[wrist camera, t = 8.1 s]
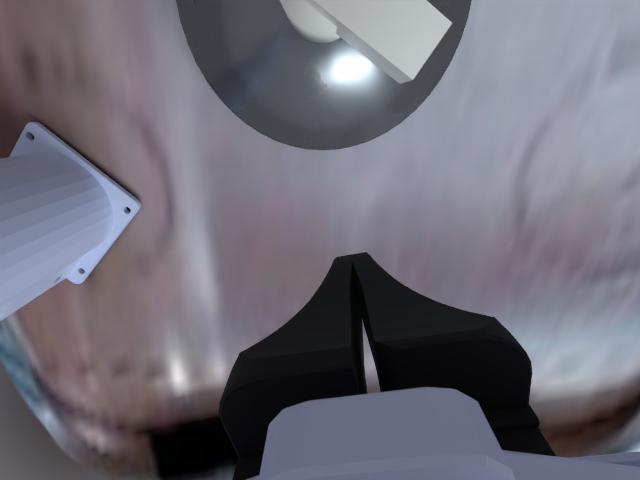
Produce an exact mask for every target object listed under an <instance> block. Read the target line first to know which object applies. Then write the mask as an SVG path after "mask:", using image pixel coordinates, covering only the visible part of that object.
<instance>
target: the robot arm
mask: <svg viewBox="0 0 640 480" xmlns="http://www.w3.org/2000/svg"><path fill="white" fill-rule="evenodd" d="M31 133H32V134H33V135H34V139H33V137H32V135H31ZM127 207H128V208H130V210H131V212H129V211H128V210H127ZM140 207H141V204H140V202H139V201H138V199H136V198H135V197H134V196H133V195H131V194H130V193H129V192H127V191H126V190H125V189H124V188H122V187H121V186H120V185H118V184H117V183H116V182H115V181H113V180H112V179H111V178H109V177H108V176H107V175H106V174H104V173H103V172H102V171H101V170H99V169H98V168H97V167H95V166H94V165H93V164H92V163H90V162H89V161H88V160H86V159H85V158H84V157H83V156H81V155H80V154H79V153H78V152H76V151H75V150H74V149H72V148H71V147H70V146H69V145H67V144H66V143H65V142H63V141H62V140H61V139H60V138H58V137H57V136H56V135H54V134H53V133H52V132H51V131H49V130H48V129H47V128H46V127H44V126H43V125H42V124H40V123H38V122H29V123H27V124H26V126H25V128H24V130H23V132H22V133H21V135H20V137H19V139H18V141H17V143H16V145H15V147H14V148H13V150H12V152H11V154H10V156H9V157H7V158H1V159H0V321H1V320H3V319H4V318H6V317H7V316H9V315H10V314H12V313H13V312H15V311H16V310H18V309H19V308H21V307H22V306H24V305H25V304H27V303H29V302H30V301H32V300H33V299H35V298H36V297H38V296H39V295H41V294H42V293H44V292H45V291H47V290H48V289H50V288H51V287H53V286H54V285H56V284H57V283H59V282H60V281H62V280H63V279H65V278H67V279H68V280H70V281H72V282H73V283H75V284H80V283H82V282H83V281H84V280H85V279H86V278H87V277H88V275H89V274H90V273H91V271H92V270H93V269H94V267H95V266H96V265H97V264H98V262H99V261H100V260H101V258H102V257H103V256H104V254H105V253H106V252H107V251H108V249H109V248H110V247H111V245H112V244H113V243H114V242H115V240H116V239H117V238H118V236H119V235H120V234H121V232H122V231H123V230H124V229H125V227H126V226H127V225H128V223H129V222H130V221H131V219H132V218H133V217H134V216H135V214H136V213H137V212H138V210H139V209H140ZM82 269H83V270H84V271H83V270H82ZM362 320H363V323H364V327H365V330H366V334H367V337H368V341H369V344H370V348H371V352H372V355H373V359H374V362H375V366H376V370H377V374H378V380H379V385H380V391H381V392H377V393H369V394H368V393H367V386H366V379H365V369H364V351H363V329H362ZM531 378H532V366H531V361H530V359H529V357H528V355H527V353H526V351H525V350H524V349H523V348H522V346H521V345H520V344H519V343H518V341H517V340H516V339H515V338H514V337H513V336H512V335H511V333H510V332H509V331H508V330H507V329H506V328H505V327H504V326H503V325H502V324H501V323H500V322H499V321H498V320H497V319H496V318H495V317H490V316H486V315H481V314H477V313H472V312H468V311H464V310H460V309H457V308H454V307H451V306H448V305H445V304H442V303H439V302H437V301H434V300H432V299H430V298H427V297H425V296H423V295H421V294H419V293H417V292H415V291H413V290H411V289H410V288H408V287H406V286H404V285H403V284H401V283H400V282H399V281H397V280H396V279H394V278H393V277H392V276H391V275H389V274H388V273H387V272H386V271H385V270H384V269H383V268H381V267H380V266H379V265H378V264H377V263H376V262H375V261H374V260H373V258H372V257H371V256H370V255H369V254H368V253H367V252H365V253H359V254H353V255H347V256H341V257H336V258H335V259H334V261H333V264H332V266H331V268H330V270H329V272H328V274H327V275H326V277H325V279H324V281H323V282H322V284H321V285H320V287H319V288H318V290H317V291H316V293H315V294H314V295H313V297H312V298H311V299H310V301H309V302H308V303H307V304H306V305H305V306H304V307H303V308H302V309H301V310H300V311H299V312H298V313H297V314H296V315H295V316H294V317H293V318H291V319H290V320H289V321H288V322H287V323H286V324H285V325H283V326H282V327H281V328H279V329H278V330H277V331H275V332H274V333H272V334H271V335H269V336H268V337H266V338H265V339H263V340H262V341H260V342H258V343H256V344H255V345H253V346H251V347H250V348H248V349H246V350H244V351H242V352H240V354H239V356H238V358H237V360H236V362H235V364H234V366H233V368H232V371H231V373H230V376H229V378H228V381H227V384H226V387H225V389H224V392H223V395H222V398H221V401H220V406H219V415H220V418H221V421H222V424H223V426H224V428H225V430H226V432H227V434H228V436H229V438H230V440H231V442H232V444H233V446H234V448H235V450H236V452H237V454H238V460H237V464H236V468H235V472H234V476H233V480H640V452H630V453H619V454H608V455H597V456H586V457H574V458H563V457H556V455H555V454H554V452H553V450H552V449H551V447H550V446H549V444H548V443H547V441H546V440H545V438H544V437H543V435H542V434H541V432H540V430H539V429H538V427H537V426H539V420H538V417H537V416H536V414H535V413H534V411H533V410H532V408H531V407H530V405H529V396H530V387H531Z"/></svg>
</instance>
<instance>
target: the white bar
mask: <svg viewBox="0 0 640 480" xmlns="http://www.w3.org/2000/svg"><path fill="white" fill-rule="evenodd" d="M280 2H281V4H282V6H283V9H284V11H285V13H286V15H287V17H288V19H289V21H290V23H291V25H292V26H293V28H294V29H295V30H296V31H297V32H298V33H299V34H300V35H301V36H303V37H304V38H306V39H308V40H310V41H313V42H317V43H327V42H332V41H335V40H337V39H339V38H340V37H341V38H342V39H343V40H345V41H346V42H347V43H348V44H350V45H351V46H352V47H353V48H355V49H356V50H357V51H359V52H360V53H361V54H362V55H364V56H365V57H366V58H367V59H369V60H370V61H371V62H373V63H374V64H375V65H376V66H378V67H379V68H380V69H381V70H383V71H384V72H385V73H386V74H388V75H389V76H390V77H392V78H393V79H394V80H395V81H397V82H398V83H399V84H401V83H404V82H408V81H411V80H413V79H414V78H415V76H416V75H417V73H418V72H419V70H420V69H421V68H422V66H423V65H424V63H425V62H426V60H427V59H428V58H429V56H430V55H431V53H432V52H433V50H434V49H435V47H436V46H437V45H438V43H439V42H440V40H441V39H442V37H443V36H444V35H445V33H446V32H447V30H448V29H449V27H450V26H451V24H452V22H451V21H449V20H448V19H447V18H446V17H445V16H444V15H443V14H442V13H440V12H439V11H438V10H437V9H436V8H435V7H434V6H432V5H431V4H430V3H429V2H428V1H427V0H280Z"/></svg>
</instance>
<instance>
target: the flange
mask: <svg viewBox="0 0 640 480" xmlns="http://www.w3.org/2000/svg"><path fill="white" fill-rule="evenodd" d="M176 1H177V6H178V11H179V15H180V20H181V24H182V27H183V30H184V33H185V36H186V39H187V42H188V45H189V47H190V49H191V52H192V54H193V56H194V58H195V61H196V63H197V65H198V66H199V68H200V70H201V72H202V73H203V75H204V77H205V79H206V80H207V82H208V83H209V85H210V86H211V87H212V89H213V90H214V92H215V93H216V94H217V96H218V97H219V98H220V99H221V100H222V101H223V103H224V104H225V105H226V106H227V107H228V108H229V109H230V110H231V111H232V112H233V113H234V114H235V115H236V116H238V117H239V118H240V119H241V120H242V121H243V122H245V123H246V124H247V125H249V126H250V127H252V128H253V129H255V130H256V131H258V132H259V133H261V134H263V135H265V136H267V137H269V138H271V139H273V140H275V141H278V142H281V143H284V144H287V145H290V146H294V147H299V148H304V149H313V150H332V149H341V148H346V147H351V146H356V145H358V144H361V143H364V142H367V141H370V140H372V139H374V138H376V137H378V136H380V135H382V134H384V133H386V132H388V131H389V130H391V129H392V128H394V127H395V126H397V125H398V124H400V123H401V122H402V121H403V120H405V119H406V118H407V117H408V116H409V115H410V114H412V113H413V112H414V111H415V110H416V109H417V108H418V107H419V106H420V105H421V104H422V102H423V101H424V100H425V99H426V98H427V97H428V96H429V95H430V93H431V92H432V90H433V89H434V88H435V86H436V85H437V84H438V82H439V81H440V80H441V78H442V76H443V74H444V73H445V71H446V69H447V67H448V66H449V64H450V62H451V60H452V58H453V56H454V54H455V51H456V49H457V47H458V45H459V42H460V40H461V37H462V34H463V31H464V28H465V25H466V22H467V19H468V14H469V9H470V5H471V0H427V1H428V2H429V3H430V4H431V5H432V6H434V7H435V8H436V9H437V10H438V11H439V12H440V13H442V14H443V15H444V16H445V17H446V18H447V19H448V20H449V21H451V22H452V24H451V26H450V27H449V29H448V30H447V32H446V33H445V35H444V36H443V37H442V39H441V40H440V42H439V43H438V45H437V46H436V47H435V49H434V50H433V52H432V53H431V55H430V56H429V58H428V59H427V60H426V62H425V63H424V65H423V66H422V68H421V69H420V70H419V72H418V73H417V75H416V76H415V78H414V79H413V80H411V81H408V82H404V83H401V84H399V83H398V82H397V81H395V80H394V79H393V78H392V77H390V76H389V75H388V74H386V73H385V72H384V71H383V70H381V69H380V68H379V67H378V66H376V65H375V64H374V63H373V62H371V61H370V60H369V59H367V58H366V57H365V56H364V55H362V54H361V53H360V52H359V51H357V50H356V49H355V48H353V47H352V46H351V45H350V44H348V43H347V42H346V41H345V40H343V39H342V38H341V37H340V38H339V39H337V40H335V41H332V42H327V43H317V42H313V41H310V40H308V39H306V38H304V37H303V36H301V35H300V34H299V33H298V32H297V31H296V30H295V29H294V28H293V26H292V25H291V23H290V21H289V19H288V17H287V15H286V13H285V11H284V9H283V6H282V4H281V2H280V0H176Z"/></svg>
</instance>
